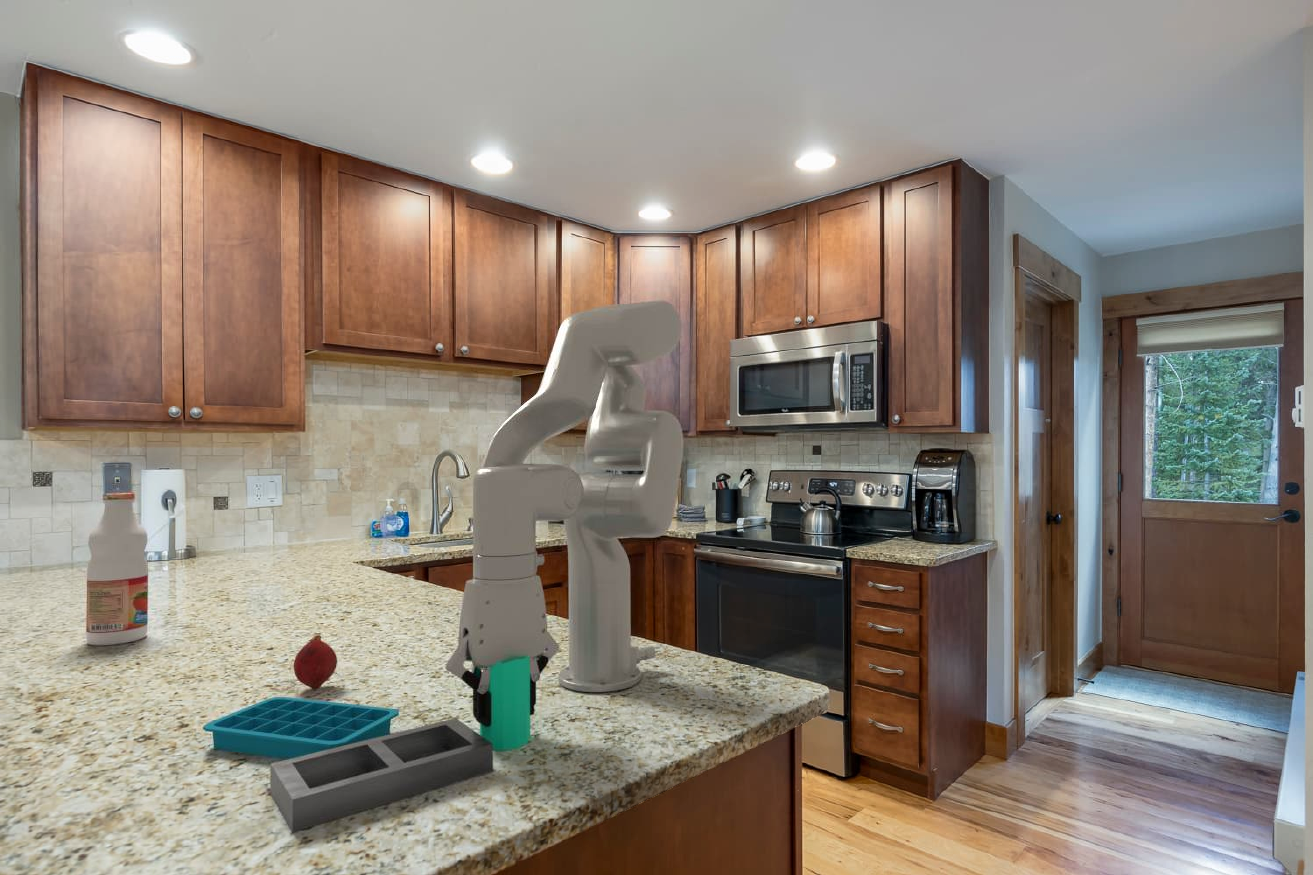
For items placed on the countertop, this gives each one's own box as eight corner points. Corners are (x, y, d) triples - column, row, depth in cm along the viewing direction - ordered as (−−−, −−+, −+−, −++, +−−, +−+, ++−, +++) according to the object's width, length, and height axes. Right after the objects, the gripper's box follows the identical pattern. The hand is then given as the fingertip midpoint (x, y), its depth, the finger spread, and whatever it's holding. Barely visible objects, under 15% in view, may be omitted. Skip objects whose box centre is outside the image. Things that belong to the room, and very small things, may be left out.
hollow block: (455, 743, 86) (455, 718, 86) (492, 771, 79) (492, 743, 79) (270, 792, 74) (270, 763, 74) (292, 832, 66) (292, 799, 66)
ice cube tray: (338, 772, 79) (338, 745, 79) (197, 752, 85) (197, 727, 85) (403, 733, 90) (403, 709, 91) (275, 718, 96) (275, 695, 96)
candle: (469, 746, 86) (469, 644, 86) (498, 728, 91) (498, 633, 91) (512, 753, 83) (512, 649, 84) (539, 734, 89) (539, 637, 89)
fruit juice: (82, 640, 137) (84, 493, 138) (142, 631, 144) (144, 491, 145) (89, 649, 131) (91, 495, 131) (151, 639, 137) (153, 493, 138)
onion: (319, 696, 104) (319, 640, 104) (284, 694, 105) (284, 639, 105) (344, 683, 109) (344, 631, 110) (311, 681, 111) (311, 629, 111)
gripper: (550, 557, 96) (550, 695, 95) (425, 571, 85) (425, 725, 85) (580, 564, 90) (581, 710, 90) (450, 579, 79) (450, 745, 79)
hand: (505, 716), depth 87 cm, fingers closed on candle, 4 cm apart
